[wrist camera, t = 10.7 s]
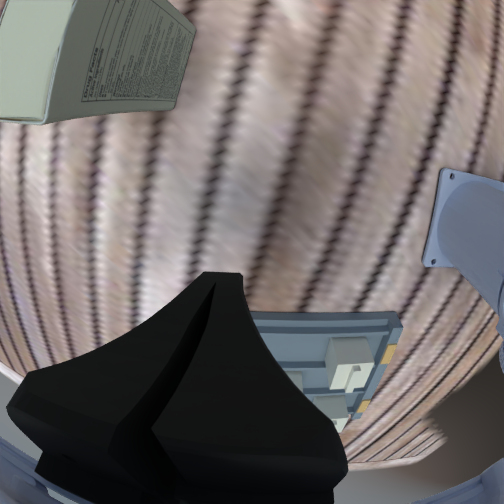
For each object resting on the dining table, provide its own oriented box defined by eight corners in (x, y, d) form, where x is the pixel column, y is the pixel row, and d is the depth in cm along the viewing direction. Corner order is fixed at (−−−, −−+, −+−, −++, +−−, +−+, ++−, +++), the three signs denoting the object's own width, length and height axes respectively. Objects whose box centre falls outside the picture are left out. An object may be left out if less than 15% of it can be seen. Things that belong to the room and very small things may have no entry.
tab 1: (301, 366, 24) (303, 402, 21) (297, 386, 26) (299, 420, 22) (268, 366, 24) (267, 402, 21) (266, 386, 26) (265, 420, 22)
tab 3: (364, 332, 22) (376, 368, 19) (355, 358, 24) (365, 392, 20) (331, 333, 22) (339, 370, 19) (324, 359, 24) (330, 395, 20)
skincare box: (141, 24, 13) (19, -33, 2) (199, 28, 14) (107, -64, 3) (118, 107, 16) (-26, 123, 5) (173, 115, 17) (41, 126, 6)
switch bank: (395, 311, 22) (404, 328, 20) (356, 404, 29) (360, 419, 27) (234, 310, 23) (230, 330, 21) (238, 405, 29) (237, 422, 27)
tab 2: (343, 390, 26) (349, 422, 22) (337, 406, 27) (341, 436, 24) (315, 392, 26) (319, 424, 22) (310, 408, 27) (313, 438, 24)
